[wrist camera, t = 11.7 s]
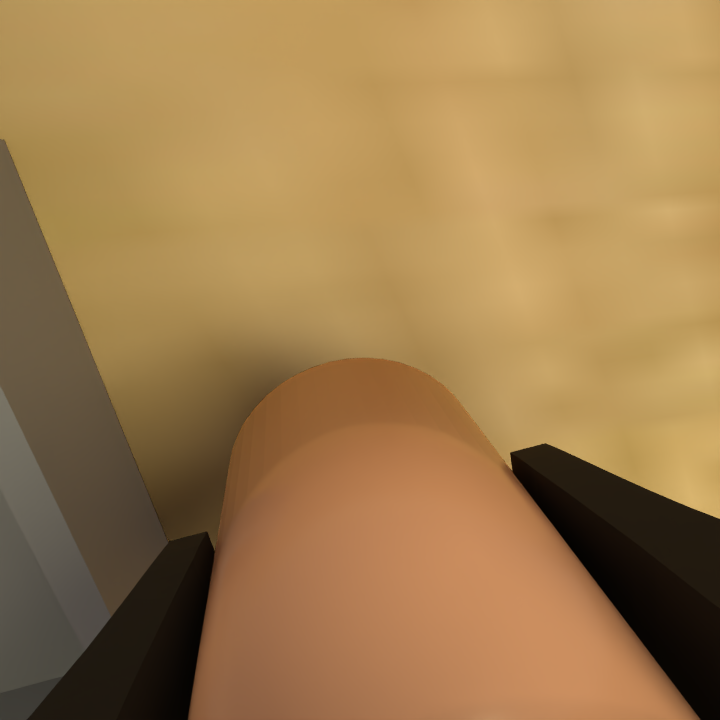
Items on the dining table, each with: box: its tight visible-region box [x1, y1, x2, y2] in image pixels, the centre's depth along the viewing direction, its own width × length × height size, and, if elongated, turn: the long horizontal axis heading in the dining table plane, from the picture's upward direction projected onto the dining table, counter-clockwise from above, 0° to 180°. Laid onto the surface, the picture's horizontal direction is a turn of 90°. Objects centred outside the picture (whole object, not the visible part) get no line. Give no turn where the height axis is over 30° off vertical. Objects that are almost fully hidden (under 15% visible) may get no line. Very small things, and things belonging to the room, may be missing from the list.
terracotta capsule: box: [188, 358, 701, 720], centre depth 8 cm, size 5×5×7 cm
